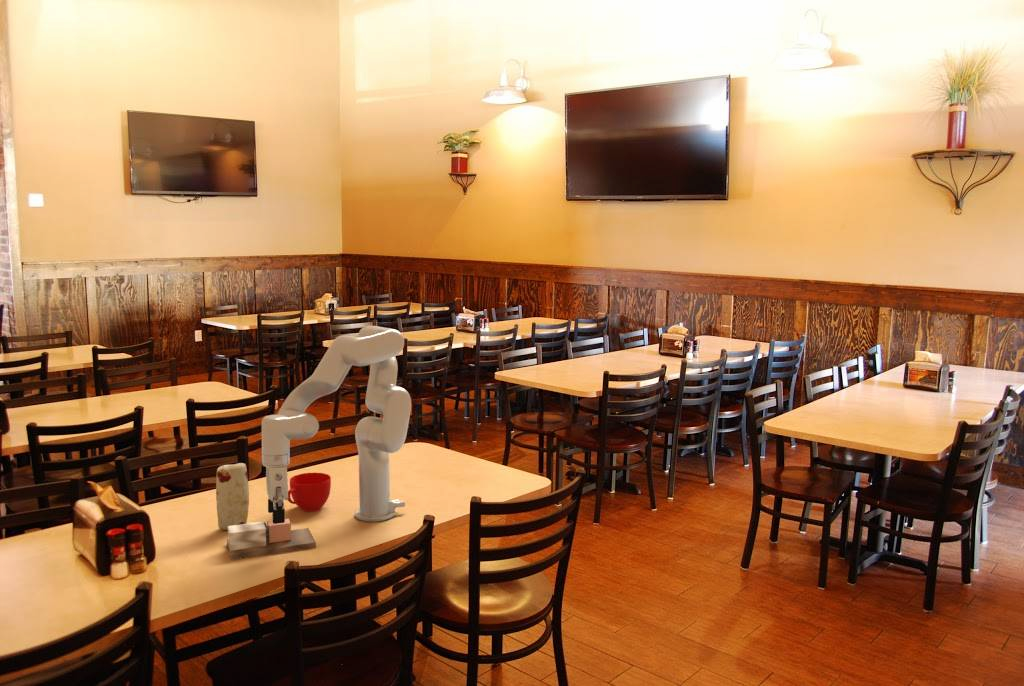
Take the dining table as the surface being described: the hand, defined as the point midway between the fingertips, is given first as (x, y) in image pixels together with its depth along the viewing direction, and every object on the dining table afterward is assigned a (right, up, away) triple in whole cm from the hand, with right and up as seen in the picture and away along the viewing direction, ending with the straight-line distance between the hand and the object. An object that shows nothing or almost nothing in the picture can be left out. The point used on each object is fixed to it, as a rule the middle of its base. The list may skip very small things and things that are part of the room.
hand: (276, 517), depth 231 cm
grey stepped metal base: (-3, -8, 0) cm, 9 cm away
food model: (-17, -6, +15) cm, 23 cm away
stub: (0, -6, +1) cm, 7 cm away
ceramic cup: (+1, -4, +30) cm, 31 cm away
